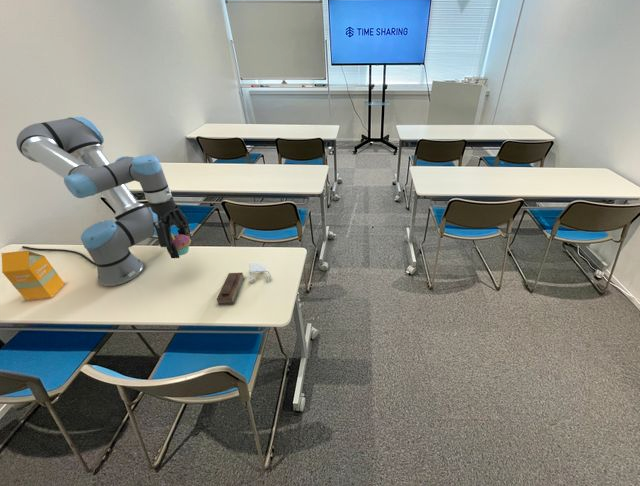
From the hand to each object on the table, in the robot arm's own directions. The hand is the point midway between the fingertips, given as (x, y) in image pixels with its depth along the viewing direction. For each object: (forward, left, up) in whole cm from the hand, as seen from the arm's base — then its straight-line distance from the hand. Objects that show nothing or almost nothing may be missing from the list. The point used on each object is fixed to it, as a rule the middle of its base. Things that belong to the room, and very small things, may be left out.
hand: (181, 250), depth 115 cm
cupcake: (0, 0, -1) cm, 1 cm away
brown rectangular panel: (+20, -10, -14) cm, 26 cm away
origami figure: (+29, -3, -14) cm, 32 cm away
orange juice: (-54, -6, -14) cm, 56 cm away
